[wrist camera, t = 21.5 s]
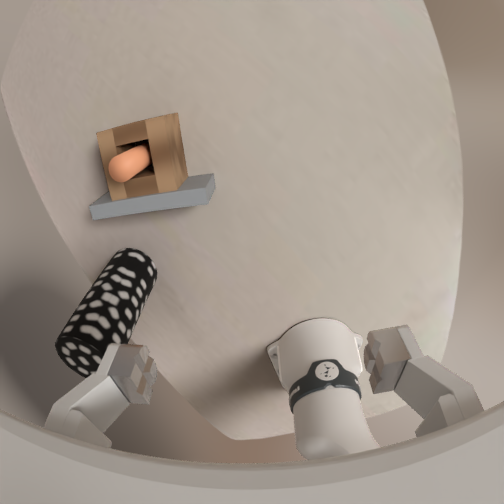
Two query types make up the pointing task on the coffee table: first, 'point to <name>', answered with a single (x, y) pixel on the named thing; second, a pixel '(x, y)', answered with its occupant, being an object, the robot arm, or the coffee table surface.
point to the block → (162, 151)
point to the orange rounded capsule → (130, 162)
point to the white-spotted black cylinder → (107, 311)
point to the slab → (157, 199)
